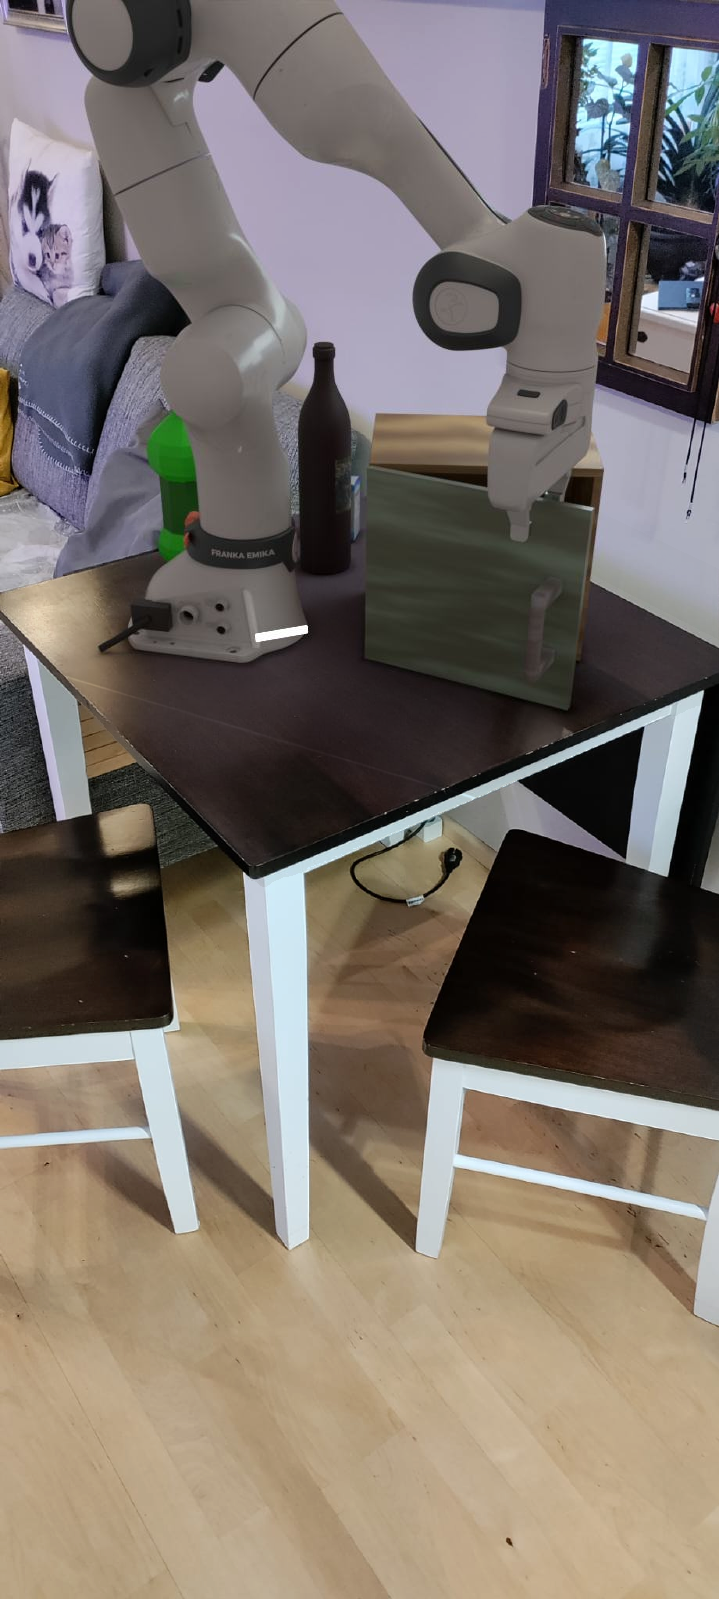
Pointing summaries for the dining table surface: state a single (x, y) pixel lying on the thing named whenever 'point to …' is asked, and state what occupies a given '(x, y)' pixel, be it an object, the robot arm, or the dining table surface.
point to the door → (474, 586)
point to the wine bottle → (324, 471)
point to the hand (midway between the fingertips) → (537, 523)
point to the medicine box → (355, 506)
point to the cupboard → (471, 461)
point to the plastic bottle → (173, 481)
